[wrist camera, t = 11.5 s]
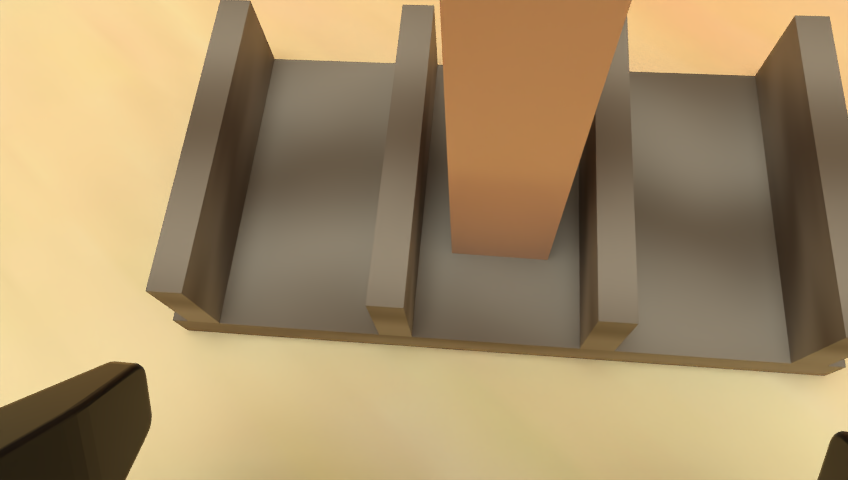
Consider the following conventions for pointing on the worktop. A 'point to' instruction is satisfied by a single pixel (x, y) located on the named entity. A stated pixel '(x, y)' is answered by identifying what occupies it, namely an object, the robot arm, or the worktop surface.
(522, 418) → the worktop surface
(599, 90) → the clay bar
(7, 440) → the robot arm
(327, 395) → the worktop surface
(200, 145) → the rack
